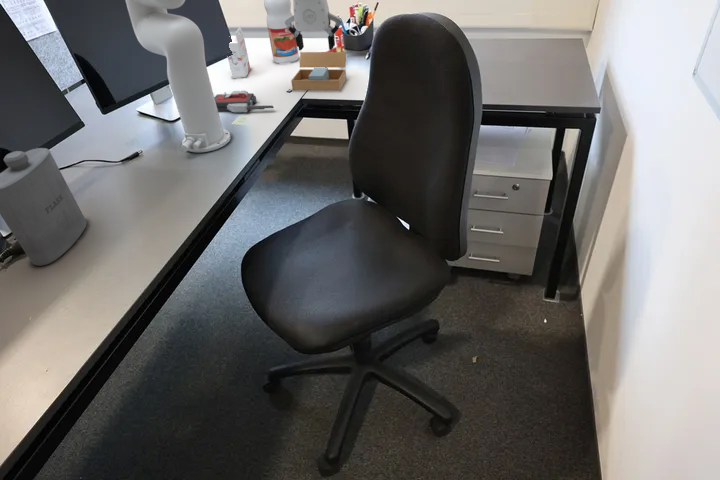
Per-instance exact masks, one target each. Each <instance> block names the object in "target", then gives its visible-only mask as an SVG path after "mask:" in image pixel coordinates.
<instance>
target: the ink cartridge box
mask: <svg viewBox="0 0 720 480" xmlns="http://www.w3.org/2000/svg"><path fill="white" fill-rule="evenodd" d="M234 34H235V35H230V36H231V39H232V42H230V43H229V48H230V50H231V51H232V54H233V55H231V56H229V57H228V56H227V60H228V64H229V69H230V72H231V77H232V79H240V78H241V79H242V78H246V77H247V76H248V74H249V72H250V70H251V65H250V60H249V55H248V50H247V45H246V40H245V36H244V33H243V28H242V26H241V25H240V26H239V27H238V28H237V29H236V31H235V32H234Z"/></svg>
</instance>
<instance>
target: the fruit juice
mask: <svg viewBox="0 0 720 480" xmlns="http://www.w3.org/2000/svg"><path fill="white" fill-rule="evenodd" d="M263 7H264V9H265V12H266V27H267V31H268V37H269V44H270V49H271V50H270V51H271V55H272V59H273V61H274V63H276V64H288V63H290V64H291V63H295V62H296V61H297V60H299V58H300V54H299V47H297V43H296V37H294V35H293V34H292V33H291V32H290V31H289V29H288V27H287V26H286V24H285V21H286V20H287V19H289V18H290V17H292V16H293V15H294V14H292V11H291V10H292V9H291V8H292V2H291V0H263ZM291 24H292V26H293V27H295V22H294V21H293V22H291Z"/></svg>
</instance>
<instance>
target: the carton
mask: <svg viewBox="0 0 720 480" xmlns="http://www.w3.org/2000/svg"><path fill="white" fill-rule="evenodd" d="M313 69H314V68H312V69H310V68H309V69H307V68H305V69H303V68H302V69H301V68H300V69H299V70H298V71H297V72H296V73H295V75H294V76H293V78H292V79H291V80H290V81H291V88H292V91H341V89H342V88H343V86H344V84H345V82H346V80H347V69H339V68H338V69H333V68H331V69H330V68H328V73H329V80H309V75H310V73H311V72H312V70H313Z"/></svg>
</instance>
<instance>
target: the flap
mask: <svg viewBox="0 0 720 480" xmlns="http://www.w3.org/2000/svg"><path fill="white" fill-rule="evenodd" d="M346 61H347V52H346V51H300V52H299V68H346V65H347V64H346V63H347V62H346Z"/></svg>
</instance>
